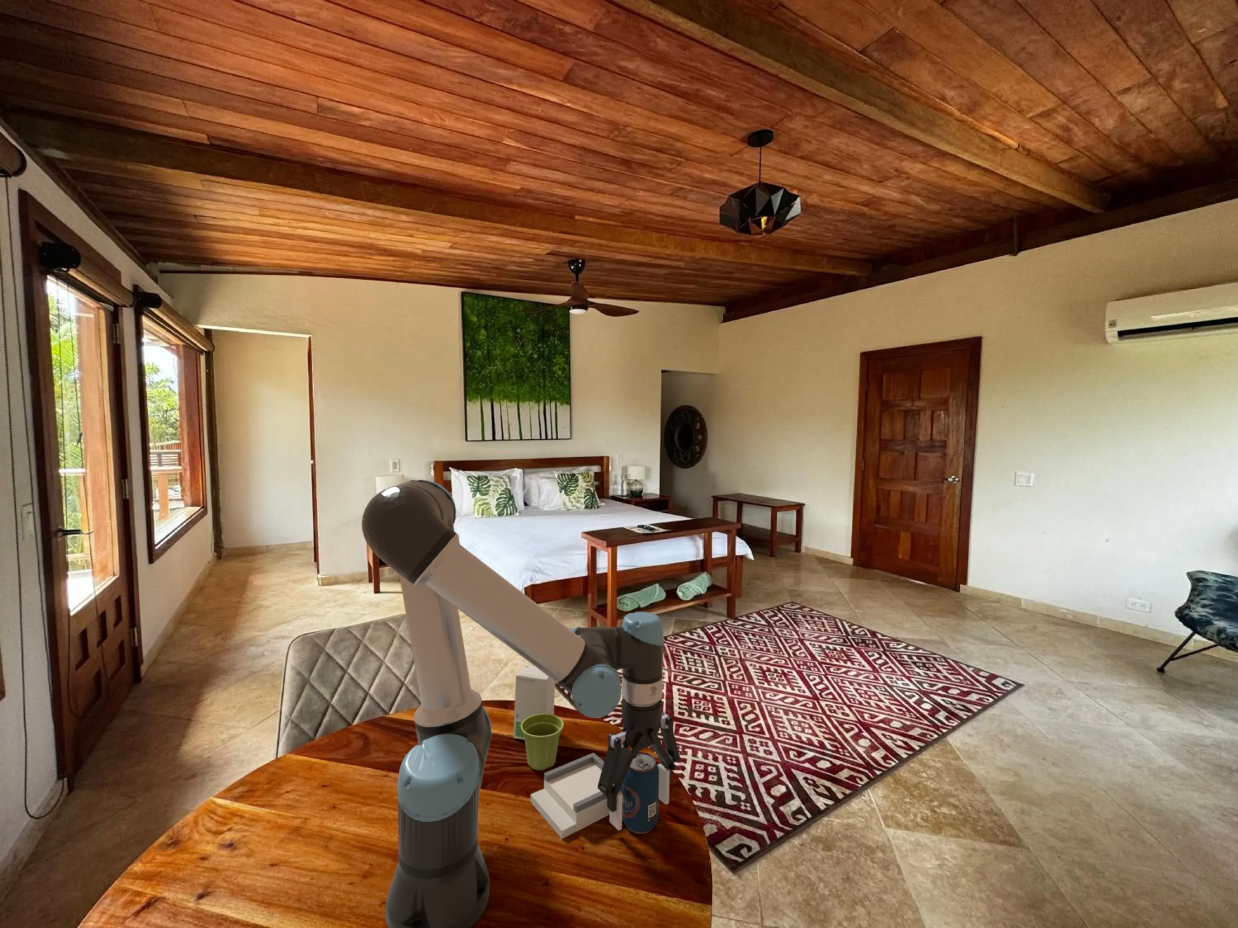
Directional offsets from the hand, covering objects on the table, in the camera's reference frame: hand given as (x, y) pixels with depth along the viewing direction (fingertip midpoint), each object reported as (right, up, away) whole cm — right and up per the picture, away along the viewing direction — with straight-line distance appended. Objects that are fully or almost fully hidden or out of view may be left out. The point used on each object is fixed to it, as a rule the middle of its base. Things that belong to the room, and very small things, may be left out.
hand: (639, 812), depth 100 cm
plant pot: (-21, -1, +18) cm, 28 cm away
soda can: (0, -2, 0) cm, 2 cm away
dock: (-12, -2, +5) cm, 13 cm away
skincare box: (-25, 0, +29) cm, 38 cm away
